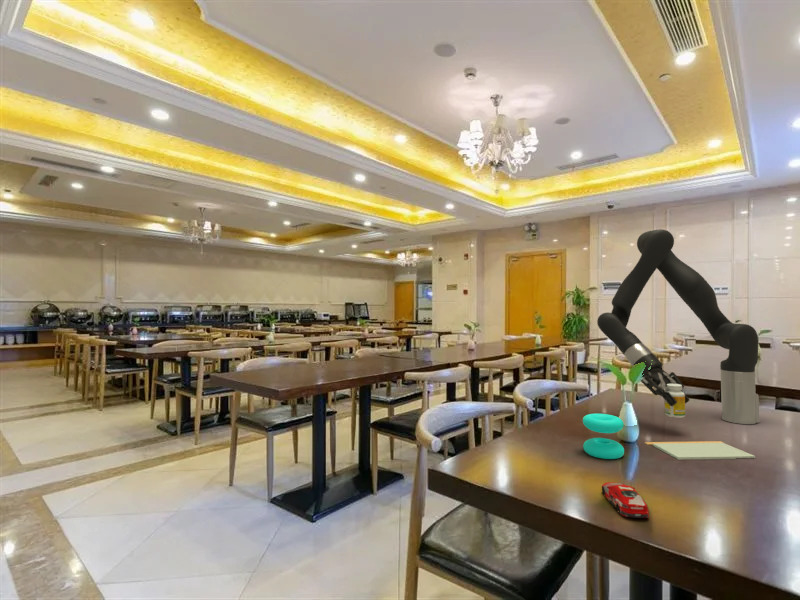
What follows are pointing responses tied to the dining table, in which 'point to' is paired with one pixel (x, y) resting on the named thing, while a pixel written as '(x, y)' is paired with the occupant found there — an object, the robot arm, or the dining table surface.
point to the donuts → (603, 445)
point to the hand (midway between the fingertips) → (680, 403)
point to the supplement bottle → (679, 396)
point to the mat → (702, 451)
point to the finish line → (683, 442)
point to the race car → (625, 500)
